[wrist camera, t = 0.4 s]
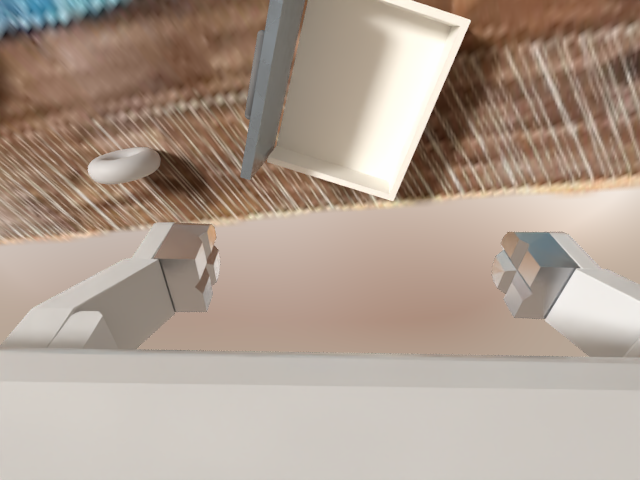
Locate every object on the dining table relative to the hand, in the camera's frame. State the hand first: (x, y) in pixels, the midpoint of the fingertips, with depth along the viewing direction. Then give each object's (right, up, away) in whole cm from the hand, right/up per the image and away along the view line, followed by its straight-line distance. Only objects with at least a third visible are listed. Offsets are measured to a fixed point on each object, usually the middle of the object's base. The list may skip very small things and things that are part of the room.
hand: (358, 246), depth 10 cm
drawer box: (+4, +21, +39) cm, 44 cm away
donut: (-30, +14, +48) cm, 58 cm away
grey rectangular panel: (-6, +22, +37) cm, 44 cm away
